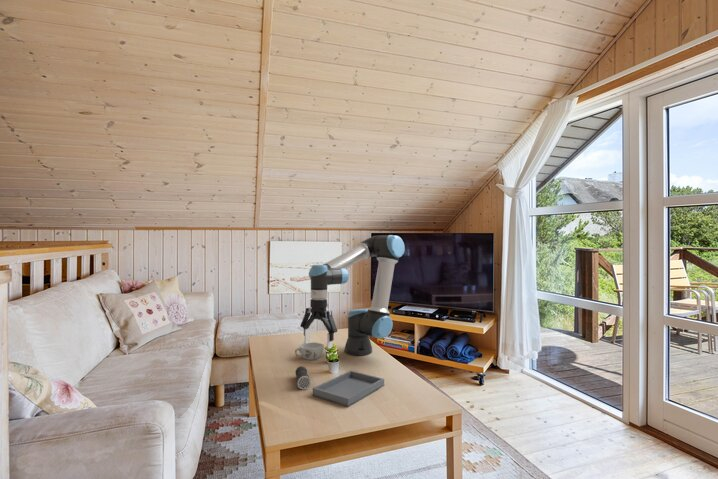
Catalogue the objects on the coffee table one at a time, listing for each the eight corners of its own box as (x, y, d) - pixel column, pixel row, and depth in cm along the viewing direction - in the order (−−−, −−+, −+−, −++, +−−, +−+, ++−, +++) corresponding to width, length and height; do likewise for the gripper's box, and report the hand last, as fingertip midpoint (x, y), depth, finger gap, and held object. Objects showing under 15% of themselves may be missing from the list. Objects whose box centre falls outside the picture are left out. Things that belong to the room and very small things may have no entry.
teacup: (321, 355, 206) (321, 341, 206) (325, 362, 194) (326, 347, 194) (293, 358, 202) (293, 343, 202) (296, 365, 190) (296, 349, 190)
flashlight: (303, 378, 174) (292, 374, 173) (308, 367, 174) (297, 363, 173) (307, 391, 159) (295, 386, 158) (312, 379, 160) (300, 374, 158)
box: (350, 377, 174) (350, 370, 174) (384, 385, 164) (384, 378, 164) (312, 395, 153) (312, 388, 153) (348, 406, 142) (348, 398, 142)
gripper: (293, 297, 177) (292, 342, 176) (335, 302, 162) (334, 352, 162) (304, 295, 183) (303, 339, 182) (345, 300, 168) (345, 348, 168)
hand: (318, 345), depth 172 cm, fingers open, 13 cm apart
